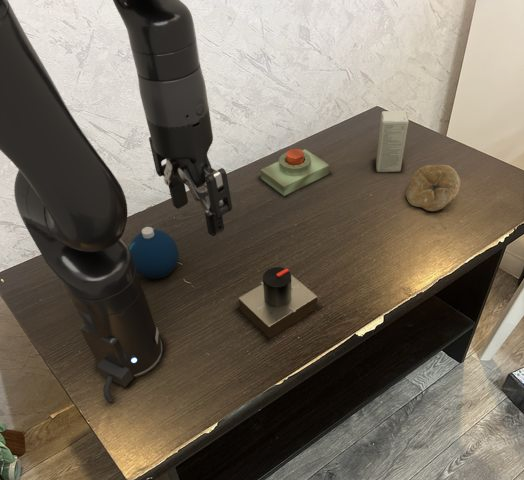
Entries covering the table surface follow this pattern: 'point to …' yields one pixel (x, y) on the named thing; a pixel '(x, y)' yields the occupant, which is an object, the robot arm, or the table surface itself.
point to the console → (277, 308)
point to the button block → (294, 173)
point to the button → (295, 157)
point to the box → (391, 141)
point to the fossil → (433, 187)
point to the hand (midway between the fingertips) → (198, 218)
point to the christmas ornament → (154, 253)
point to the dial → (277, 286)
